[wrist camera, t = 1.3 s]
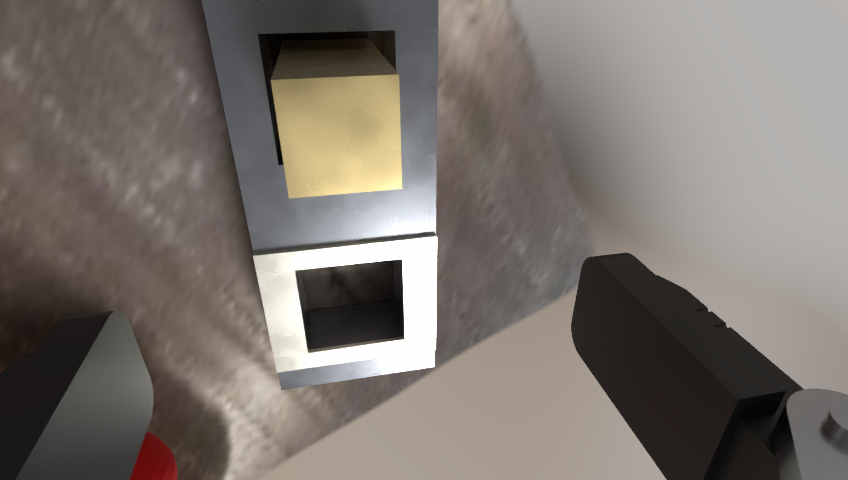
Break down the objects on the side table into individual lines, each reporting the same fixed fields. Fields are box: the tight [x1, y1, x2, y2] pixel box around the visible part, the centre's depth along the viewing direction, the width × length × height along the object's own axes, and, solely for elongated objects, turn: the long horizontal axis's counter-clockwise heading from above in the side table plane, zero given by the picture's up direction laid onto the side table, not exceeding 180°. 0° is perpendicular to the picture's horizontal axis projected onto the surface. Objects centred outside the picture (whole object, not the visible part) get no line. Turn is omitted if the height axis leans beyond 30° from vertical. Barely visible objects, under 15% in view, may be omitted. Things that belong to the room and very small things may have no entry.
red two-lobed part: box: [130, 431, 177, 480], centre depth 30 cm, size 9×7×10 cm
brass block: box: [271, 38, 402, 199], centre depth 22 cm, size 4×4×10 cm
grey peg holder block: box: [202, 0, 438, 390], centre depth 28 cm, size 24×10×4 cm, turn 1°
